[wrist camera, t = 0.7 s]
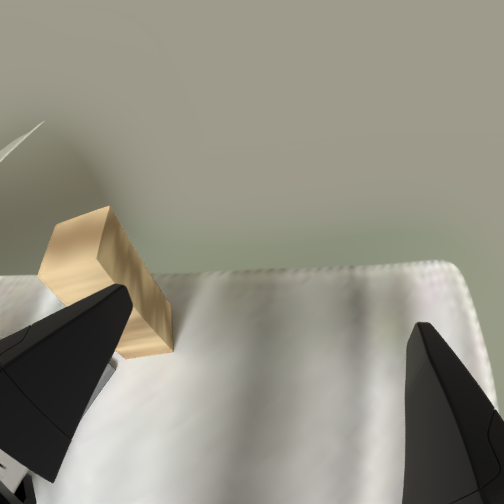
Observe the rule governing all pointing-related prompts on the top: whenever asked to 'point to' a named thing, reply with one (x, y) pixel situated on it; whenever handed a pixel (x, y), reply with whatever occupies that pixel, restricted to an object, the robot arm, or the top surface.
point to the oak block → (108, 278)
